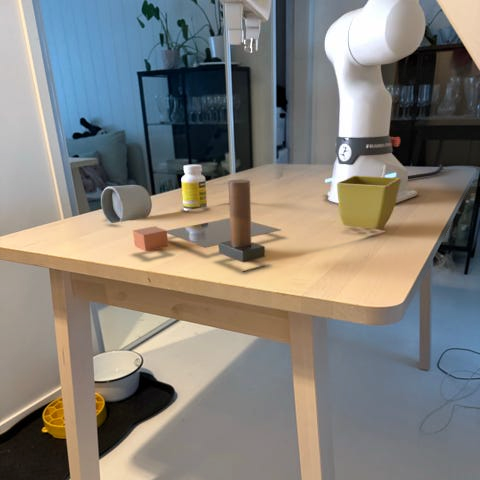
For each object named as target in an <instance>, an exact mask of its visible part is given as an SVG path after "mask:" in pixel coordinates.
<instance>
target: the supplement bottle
mask: <svg viewBox="0 0 480 480" xmlns="http://www.w3.org/2000/svg"><path fill="white" fill-rule="evenodd" d="M202 172H203V166H202V164H197V163H196V164H195V163H194V164H185V165H183V173H184V175H182V177H181V180H180V181H181V195H182V208H183V210H184V211H190V210H196V209H202V208H207V207H208V201H207V182H206V181H207V180H206V177H205V175H204V174H202Z"/></svg>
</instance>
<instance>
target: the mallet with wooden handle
mask: <svg viewBox="0 0 480 480" xmlns="http://www.w3.org/2000/svg"><path fill="white" fill-rule="evenodd" d="M227 184H228V202H229V203H228V204H229V208H228V209H229V218H230V232H231V241H226V242H222V243H219V245H218V253H219V255H220V254H221V255H223V256H225V257H227V258H231V259H233V260H236V261H239V262H241V263H247V262H249V261H254V260H257V259H262V258H265V257H266V251H265V250H266V249H265V248H266V247H265V246H264V245H262V244H258V243H255V242H252V237H251V222H252V205H251V180H249V179H232V180H229V181H228V183H227ZM262 267H265V264H264V265H260V266H256V267H254V268H250V269H247V270H242V272H243V273H244V272H248V271H252V270H255V269H259V268H262Z"/></svg>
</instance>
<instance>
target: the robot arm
mask: <svg viewBox="0 0 480 480" xmlns="http://www.w3.org/2000/svg"><path fill="white" fill-rule="evenodd" d="M218 2H220V3H221V4H223V5H224V14H225V20H226V25H227V29H228V30H227V31H228V44H229V45H231V46H233V47H240V46H243V45H244V51H245V52H246V53H247V54H257V53H258V50H259V37H260V33H261V27H262V26H261V25H262V24H263V23H267V22H268V21H269V18H270V15H271V8H272V0H218ZM243 20H244V21H245V28H246V30H245V31H244V29H243ZM425 31H426V17H425V12H424V10H423V8H422V6H421V4H420V0H367V2H366V4H365V5H364V6H363V7H360V8H357V9H354V10H351V11H348V12H346V13H345V14H342V15H341V16H340V17H339V18H338V19H336V20H335V21H333V23H331V25H330V26H329V28H328V30H327V32H326V34H325V38H324V51H325V55H326V57H327V59H328V60H329V62H330V63H331V65H332V67H333V70H334V74H335V78H336V84H337V88H338V97H339V112H338V113H339V115H338V117H339V118H338V120H339V121H338V136H337V137H336V139H335V141H336V142H335V154H336V159H335V161H334V163H333V169H332V175H331V177H330V178H326V179H325V180H324V182H325V183H329V182H331V183H330V188H329V190H328V191H327V197H328V198H327V201H329V202H331V203H335V204H338V193H337V183H338V182H341V181H343V180H346V179H348V178H350V177H352V176H371V177H393V178H401V180H400V185H399V190H398V194H397V198H396V203H395V204H398V203H400V202H403V201H406V200H408V199H411V198H413V197H416V196H418V192H417V191H416V190H414V189H409V188H408V181H409V180H414V179H419V178H426V177H431V176H436V175H438V174H439V173H440V172H442V170H443V169H444V166H443V164H439V166H438V168H437V170H435V171H430V172H425V173H419V174H418V173H417V174H411V175H409V174H408V170H407V168H405V166H404V165H403V164H402V163H401V162H400V161H399V160H398V159H397V157H396V156H395V155H394V154H393V152H394V150H393V147H399V146H400V145H401V138H400V136H396V137H394V136H391V135H390V128H391V118H392V107H393V97H392V95H391V93H390V91H389V90H388V89H387V88H386V86H385V83H384V79H383V76H382V66H383V65H390V64H393V63H396V62H398V61H400V60H402V59H405V58H406V57H408V56H410V55H412V54H413V53H414V52H415V51H416V50H417V49H418V48H419V47H420V45H421V43H422V41H423V39H424V36H425V33H426V32H425ZM244 32H245V33H244ZM244 34H245V39H244Z"/></svg>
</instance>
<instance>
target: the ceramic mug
mask: <svg viewBox="0 0 480 480" xmlns="http://www.w3.org/2000/svg"><path fill="white" fill-rule="evenodd" d="M152 203H153V202H152V197H151V195H150V193H149V191H148V190H147V189H146V188H145V187H144V186H142V185H140V184H139V185H138V184H127V185H109V186H107V187H105V188H104V189H103V190H102V193H101V196H100V205H101V206H100V207H101V211H102V213H103V216H104V218H105V219H106V221H107V222H108V223H109V224H116V223H121V222H126V221H128V222H129V221H134V220H139V219H145V218H147V217H149V216H150V214H151V213H152V207H153V204H152Z"/></svg>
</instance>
